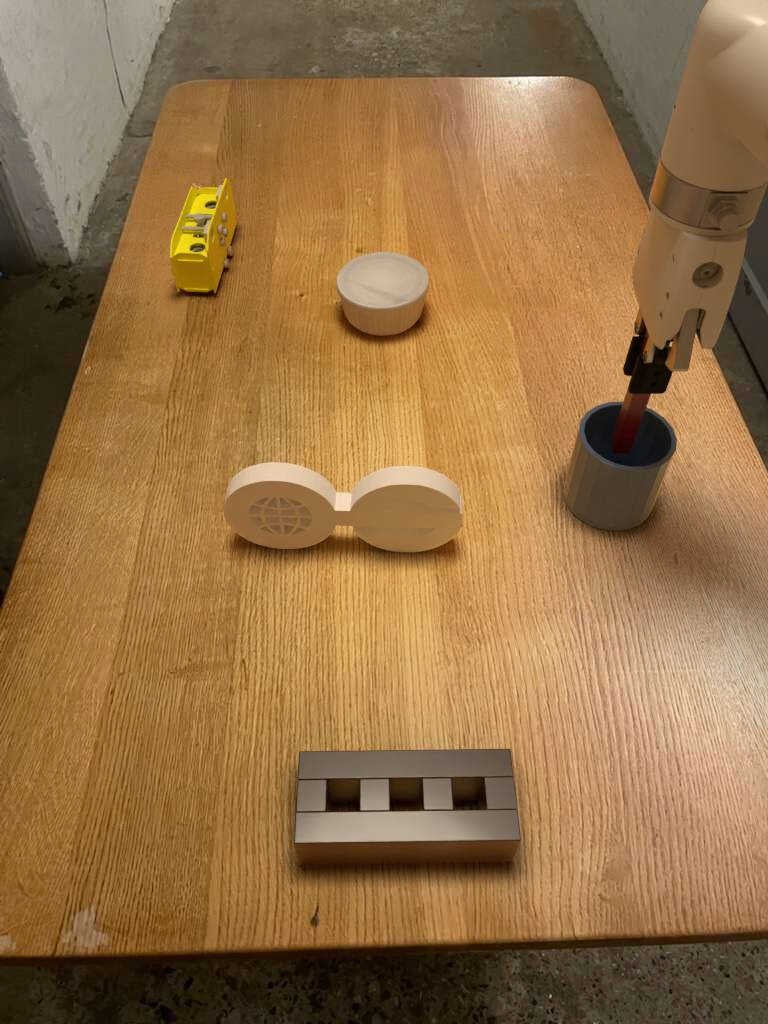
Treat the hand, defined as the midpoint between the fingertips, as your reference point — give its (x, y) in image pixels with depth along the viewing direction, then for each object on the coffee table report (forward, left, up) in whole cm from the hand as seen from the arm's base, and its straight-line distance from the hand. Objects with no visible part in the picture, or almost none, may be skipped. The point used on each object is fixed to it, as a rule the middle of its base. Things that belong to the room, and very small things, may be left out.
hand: (643, 381), depth 73 cm
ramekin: (+36, +11, -16) cm, 41 cm away
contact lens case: (+4, +27, -16) cm, 31 cm away
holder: (-23, +31, -16) cm, 42 cm away
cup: (0, 0, -16) cm, 16 cm away
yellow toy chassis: (+55, +28, -16) cm, 64 cm away
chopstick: (0, 0, -9) cm, 9 cm away
